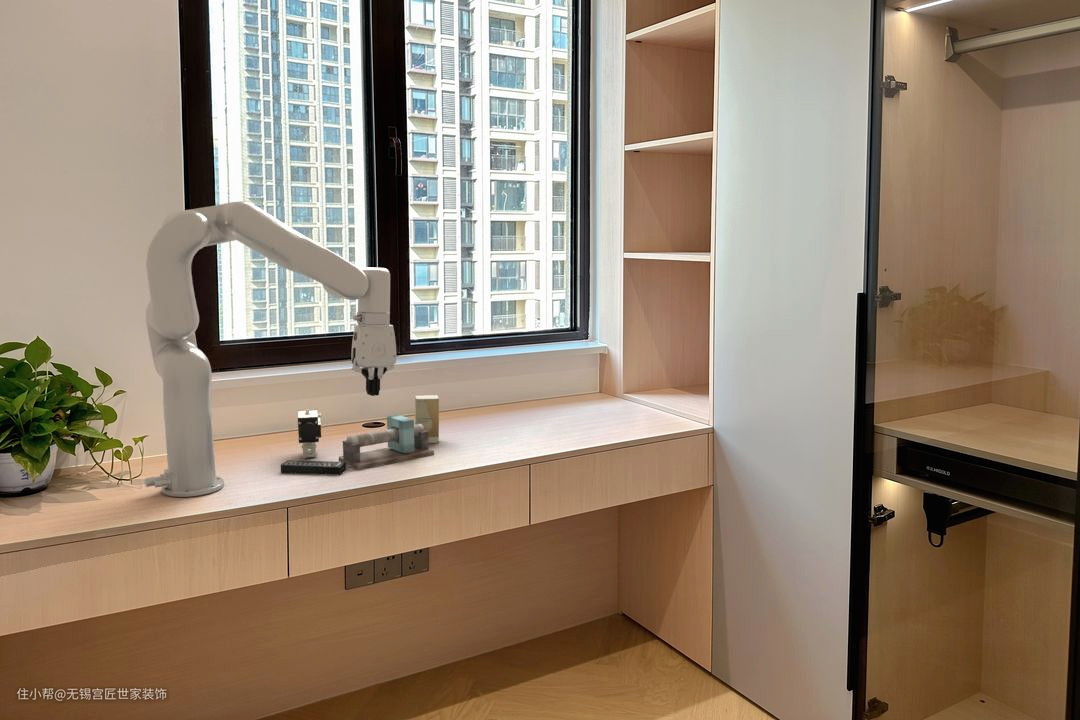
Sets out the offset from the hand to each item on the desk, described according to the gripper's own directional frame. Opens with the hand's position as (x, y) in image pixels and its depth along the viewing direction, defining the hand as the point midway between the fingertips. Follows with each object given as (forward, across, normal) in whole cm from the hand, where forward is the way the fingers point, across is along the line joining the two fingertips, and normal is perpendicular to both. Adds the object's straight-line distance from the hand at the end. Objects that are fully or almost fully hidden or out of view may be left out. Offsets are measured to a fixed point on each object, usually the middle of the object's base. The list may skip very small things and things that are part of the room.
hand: (372, 394), depth 203 cm
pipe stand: (+16, +4, 0) cm, 17 cm away
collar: (+15, +8, 0) cm, 17 cm away
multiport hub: (+18, -15, 0) cm, 23 cm away
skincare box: (+16, +20, +7) cm, 26 cm away
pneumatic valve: (+17, -10, +13) cm, 24 cm away
